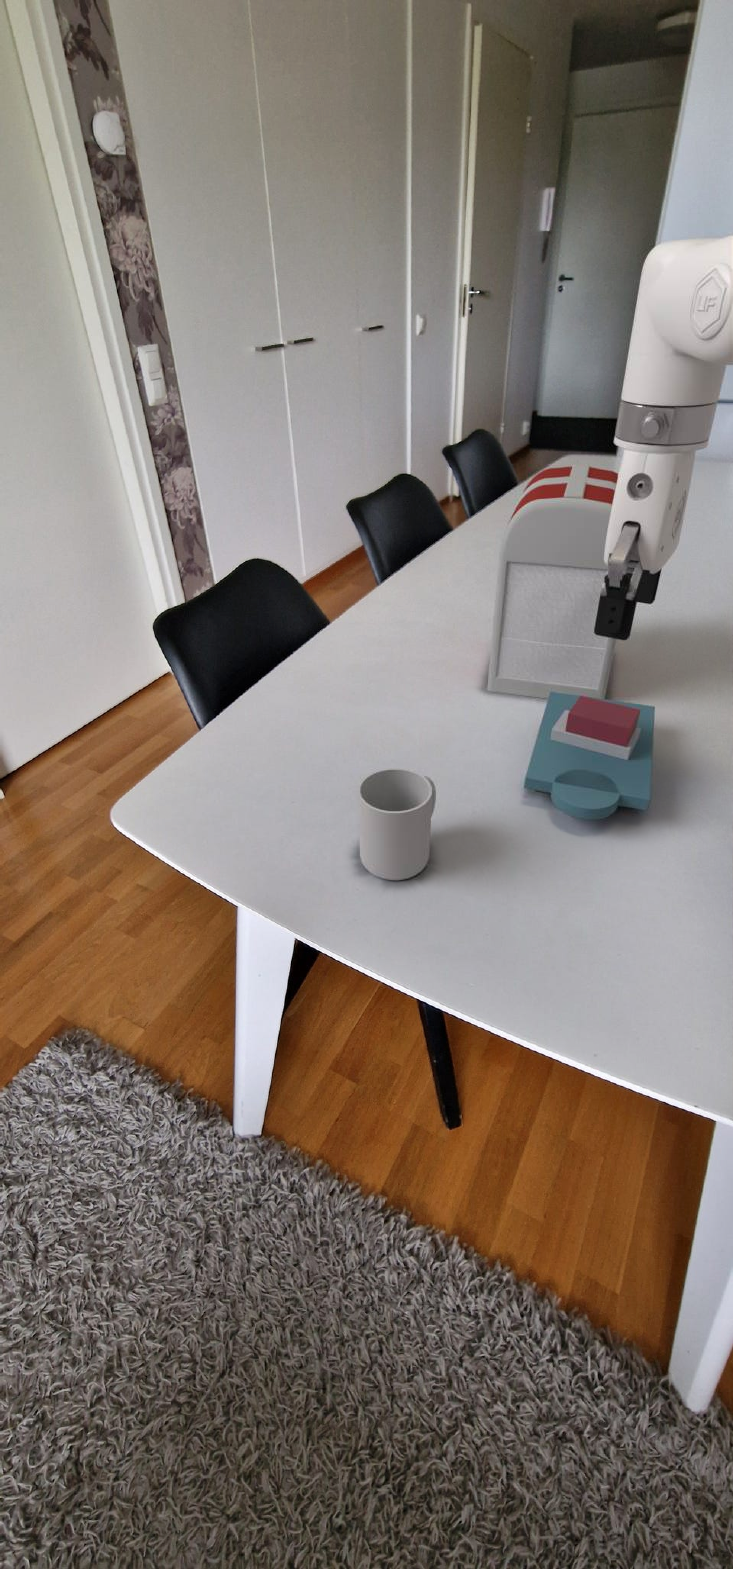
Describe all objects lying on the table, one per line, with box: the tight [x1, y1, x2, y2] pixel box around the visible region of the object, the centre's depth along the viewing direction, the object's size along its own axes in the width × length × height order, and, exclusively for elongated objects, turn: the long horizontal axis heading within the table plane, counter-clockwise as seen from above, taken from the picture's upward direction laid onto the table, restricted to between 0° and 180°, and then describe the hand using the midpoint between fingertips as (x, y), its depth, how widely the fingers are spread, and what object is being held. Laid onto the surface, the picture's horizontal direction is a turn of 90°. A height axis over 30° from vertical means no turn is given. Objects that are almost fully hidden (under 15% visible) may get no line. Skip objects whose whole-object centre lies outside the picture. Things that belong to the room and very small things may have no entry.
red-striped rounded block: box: [486, 463, 629, 700], centre depth 97 cm, size 16×18×27 cm
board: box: [523, 692, 656, 821], centre depth 83 cm, size 24×13×4 cm, turn 161°
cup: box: [356, 767, 437, 881], centre depth 71 cm, size 7×10×9 cm
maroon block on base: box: [551, 696, 641, 760], centre depth 81 cm, size 9×5×4 cm, turn 60°
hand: (624, 618), depth 69 cm, fingers open, 9 cm apart
